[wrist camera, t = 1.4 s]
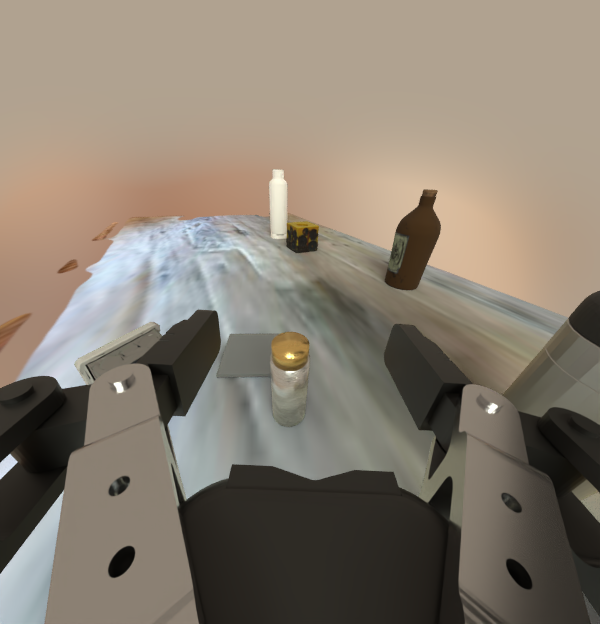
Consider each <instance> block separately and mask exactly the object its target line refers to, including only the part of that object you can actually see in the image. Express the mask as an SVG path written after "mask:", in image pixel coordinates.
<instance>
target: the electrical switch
mask: <svg viewBox="0 0 600 624" xmlns="http://www.w3.org/2000/svg"><path fill="white" fill-rule="evenodd" d="M159 331H160V325H158V324H156V323H154V322H150V323H148V324H146V325H144V326H142V327H140V328H138V329H136V330H134V331H132V332H130V333H128V334H126V335H124V336H122V337H120V338H118V339H116V340H114V341H112V342H110V343H108V344H106V345H104V346H102V347H100V348H98V349H96V350H94V351H92V352H90V353H88V354H86V355H84V356H82V357H80V358H78V360H77V361H76V362H75V364H74V365H75V367H76V368H77V370H78V371H79V373H80V375H81V376H82V378H83V380H84V381H85V383H86V384H87V385H90V384H93V382H94V381H95V380H96V379H97V378H98V377H100V376H101V375H102V374H104V373H106V372H107V371H109V370H111V369H114V368H116V367H119V366H123V365H127V364H135V363H136V362H137V361H138V360H139V359H140V358H141V357H142V356H143V355H144V354H145V353H146V352H147V351H148V350H149V349H150V348H151V347H152V346H153V345H154V344H155V343H156V342H157V341H159V339H160V338H161V337H162V335H161V334H160V333H159Z"/></svg>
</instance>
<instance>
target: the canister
mask: <svg viewBox="0 0 600 624" xmlns="http://www.w3.org/2000/svg"><path fill="white" fill-rule="evenodd" d="M271 348H272V353H271V356H270V367H271V388H272V409H273V417H274V419H275V421H276V422H277V423H278V424H280V425H282V426H284V427H293V426H296V425H298V424H299V423H300V422H301V421H302V420H303V418H304V416H305V409H306V398H307V387H308V375H309V364H310V355H309V341H308V339H307V338H306V337H305V336H303V335H302V334H299V333H296V332H285V333H281V334H279V335H277V336H276V337H275V338H274V339H273V340H272V343H271Z"/></svg>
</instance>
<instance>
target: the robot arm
mask: <svg viewBox="0 0 600 624" xmlns="http://www.w3.org/2000/svg"><path fill="white" fill-rule="evenodd" d="M220 345H221V339H220V330H219V321H218V314H217V312H216V311H211V310H197V311H196V312H195V313H194V314H193V315H192V316H191V317H190V318H189V319H188V320H183V321H181V322H179V323H177V324H175V325H173V326H172V327H171V328H170V329H169V330H168V331H167V332H166V335H163V336H162V337H161V338H160V339H159V341H157V342H156V343H155V344H154V345H153V346H152V347H151V348H150V349H149V350H148V351H147V352H146V353H145V354H144V355H143V356H142V357H141V358H140V359H139V360H138V361H137V362H136V363H135V364H127V365H123V366H119V367H116V368H114V369H111V370H109V371H107V372H106V373H104V374H102V375H101V376H100V377H98V378H97V379H96V380H95V381H94V382H93V384H90V385H84V386H78V387H71V388H65V389H62V388H61V387H60V385H59V383H58V382H57V380H56V379H55V378H53V377H50V376H38V377H31V378H27V379H23V380H20V381H17V382H14V383H11V384H9V385H7V386H4V387H2V388H0V462H1V461H2V460H3V459H4V458H6V457H7V456H8V455H9V454H11V455H12V456H13V457H14V458H15V459H16V460H17V461H18V463H17V464H16V465H15V466H14V467H13V468H12V469H11V470H10V471H9V472H8V473H7V474H6V475H5V476H4V477H3V478H2V479H1V480H0V573H1V572H2V571H3V569H4V568H5V567H6V566H7V564H8V563H9V562H10V560H11V559H12V558H13V556H14V555H15V554H16V552H17V551H18V550H19V548H20V547H21V546H22V544H23V543H24V542H25V540H26V539H27V538H28V536H29V535H30V534H31V533H32V531H33V530H34V529H35V527H36V526H37V525H38V523H39V522H40V521H41V519H42V518H43V517H44V515H45V514H46V513H47V511H48V510H49V509H50V507H51V506H52V505H53V503H54V502H55V501H56V500H57V498H58V497H59V496H60V494H61V493H62V492H63V490H64V495H63V501H62V508H61V515H60V522H59V529H58V535H57V542H56V549H55V556H54V563H53V569H52V576H51V583H50V590H49V597H48V603H47V610H46V617H45V624H591V623H590V620H589V616H588V612H587V609H586V605H585V601H584V597H583V594H582V591H583V593H584V594H585V596H586V597H587V599H588V600H589V602H590V603H591V605H592V606H593V607H594V609H595V610H596V612H597V613H598V615H599V616H600V523H599V522H598V521H597V520H596V519H595V517H594V516H593V515H592V514H591V513H590V512H589V511H588V509H587V508H586V507H585V506H584V505H583V504H582V503H581V500H583V499H585V498H587V497H589V496H591V495H593V494H595V493H597V492H600V291H597V292H595V293H593V294H591V295H590V296H588V297H587V298H586V299H585V300H584V301H583V302H582V303H581V304H580V305H579V306H578V307H577V308H576V309H575V311H574V312H573V313H572V314H571V315H570V317H569V318H568V319H567V320H566V322H565V323H564V324H563V325H562V326H561V327H560V329H559V330H558V331H557V332H556V333H555V334H554V336H553V337H552V338H551V339H550V340H549V341H548V343H547V344H546V345H545V346H544V347H543V349H542V350H541V351H540V352H539V353H538V354H537V356H536V357H535V358H534V359H533V360H532V361H531V363H530V364H529V365H528V366H527V367H526V368H525V369H524V371H523V372H522V373H521V374H520V375H519V376H518V378H517V379H516V380H515V381H514V382H513V383H512V385H511V386H510V387H509V388H508V389H507V390H506V391H505V393H504V394H503V395H501V394H499V393H497V392H495V391H494V390H491V389H489V388H487V387H484V386H481V385H475V384H472V383H471V382H470V380H469V379H468V378H467V377H466V376H465V375H464V374H463V373H462V372H461V371H460V370H459V369H458V367H457V366H456V365H455V364H454V363H453V362H452V361H450V359H449V358H448V357H447V356H446V355H445V354H443V351H442V350H441V349H440V348H439V347H438V346H437V345H436V344H435V343H433V342H432V341H430V340H429V339H427V338H426V337H424V336H423V335H422V334H421V333H420V331H419V330H418V329H417V328H416V327H415V326H414V325H403V324H395V325H394V326H393V328H392V331H391V334H390V337H389V340H388V343H387V346H386V349H385V353H384V361H385V364H386V367H387V368H388V370H389V372H390V374H391V376H392V378H393V380H394V382H395V384H396V386H397V388H398V390H399V392H400V394H401V396H402V398H403V400H404V402H405V404H406V406H407V408H408V410H409V412H410V414H411V416H412V418H413V420H414V421H415V423H416V425H417V427H418V429H419V430H430V431H433V432H434V434H435V436H434V438H433V440H432V443H431V448H430V452H429V457H428V461H427V466H426V471H425V475H424V480H423V484H422V488H421V491H420V493H419V496H418V497H417V496H416V495H414V494H413V493H410V492H408V491H406V490H404V489H402V488H399V487H398V484H397V481H396V478H395V475H394V472H383V471H361V470H353V471H350V472H346V473H342V474H339V475H335V476H331V477H328V478H324V479H320V480H310V479H307V478H304V477H302V476H299V475H296V474H293V473H290V472H287V471H284V470H282V469H279V468H276V467H273V466H254V465H233V464H232V467H231V471H230V475H229V478H228V479H225V480H221V481H219V482H216V483H214V484H211V485H209V486H207V487H206V488H204V489H202V490H200V491H199V492H197V493H196V494H194V495H193V496H191V497H190V498H188V499H186V495H185V491H184V488H183V484H182V481H181V477H180V473H179V469H178V465H177V460H176V456H175V452H174V448H173V444H172V439H171V435H170V431H169V427H168V423H169V421H170V419H171V418H172V416H186V414H187V412H188V410H189V408H190V406H191V404H192V402H193V401H194V399H195V397H196V395H197V393H198V391H199V389H200V387H201V385H202V384H203V382H204V380H205V378H206V376H207V374H208V372H209V370H210V368H211V367H212V365H213V363H214V361H215V359H216V357H217V355H218V353H219V350H220Z"/></svg>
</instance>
